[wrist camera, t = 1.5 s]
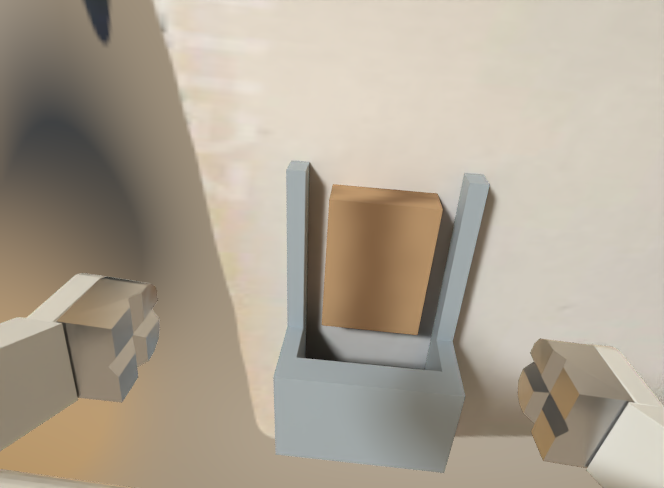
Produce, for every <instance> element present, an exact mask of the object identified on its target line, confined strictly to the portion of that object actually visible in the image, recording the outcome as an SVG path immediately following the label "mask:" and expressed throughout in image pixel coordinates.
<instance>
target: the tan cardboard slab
mask: <svg viewBox="0 0 664 488" xmlns="http://www.w3.org/2000/svg"><path fill="white" fill-rule="evenodd" d="M442 212H443V209H442V206H441V203H440V200H439V197H438V194H436V193H424V192H413V191H402V190H391V189H379V188H368V187H357V186H345V185H334V184H333V186H332V191H331V195H330V199H329V215H328V231H327V247H326V264H325V280H324V296H323V312H322V325H325V326H335V327H344V328H354V329H364V330H373V331H383V332H393V333H403V334H412V335H417V334H418V329H419V324H420V320H421V315H422V310H423V305H424V300H425V295H426V290H427V285H428V280H429V275H430V270H431V266H432V261H433V256H434V251H435V246H436V241H437V236H438V231H439V226H440V221H441V216H442Z"/></svg>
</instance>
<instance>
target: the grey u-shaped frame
mask: <svg viewBox="0 0 664 488" xmlns="http://www.w3.org/2000/svg"><path fill="white" fill-rule="evenodd" d="M286 179H287V311H288V327H287V330H286V334H285V338H284V341H283V345H282V348H281V352H280V356H279V359H278V363H277V366H276V370H275V374H274V410H275V443H276V454H277V455H286V456H295V457H304V458H313V459H322V460H332V461H340V462H349V463H358V464H367V465H376V466H386V467H395V468H404V469H413V470H422V471H431V472H440V473H444V472H445V468H446V465H447V461H448V457H449V454H450V450H451V446H452V443H453V439H454V436H455V432H456V429H457V425H458V421H459V418H460V414H461V411H462V407H463V403H464V400H465V392H464V388H463V384H462V380H461V375H460V371H459V367H458V362H457V358H456V354H455V350H454V345H453V338H454V334H455V330H456V325H457V321H458V317H459V313H460V308H461V304H462V300H463V296H464V292H465V287H466V283H467V279H468V275H469V270H470V266H471V262H472V258H473V253H474V249H475V245H476V241H477V237H478V232H479V228H480V224H481V220H482V215H483V211H484V207H485V203H486V199H487V194H488V190H489V186H490V184H489V183H488V181H487V180H486V178H485V176H484V175H482V174H468V173H464V178H463V183H462V188H461V193H460V197H459V202H458V207H457V212H456V217H455V222H454V227H453V232H452V237H451V242H450V247H449V252H448V256H447V261H446V266H445V271H444V276H443V281H442V286H441V291H440V296H439V301H438V306H437V311H436V315H435V320H434V325H433V330H432V335H431V340H430V345H429V350H428V355H427V360H426V365H425V370H421V369H410V368H400V367H390V366H379V365H369V364H359V363H348V362H338V361H328V360H318V359H307V358H306V311H307V259H308V208H309V162H299V161H291V162H290V164H289V166H288V168H287V170H286Z"/></svg>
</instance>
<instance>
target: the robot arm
mask: <svg viewBox="0 0 664 488" xmlns="http://www.w3.org/2000/svg"><path fill="white" fill-rule="evenodd" d="M157 301H158V298H157V290H156V287H155V286H154V285H153V284H151V283H144V282H138V281H132V280H126V279H120V278H114V277H104V276H100V275H93V274H86V273H81V274H76V275H75V276H74V277H73V278H72V279H70V280H69V281H68V282H67V283H66V284H65V285H64V286H62V287H61V288H60V289H59V290H58V291H57V292H55V293H54V294H53V295H52V296H51V297H50V298H49V299H47V300H46V301H45V302H44V303H43V304H42V305H41V306H39V307H38V308H37V309H36V310H35V311H34V312H33V313H31V314H30V315H29V316H28V317H27V318H21V317H17V318H14V319H11V320H9V321H6V322H3V323H0V451H1V450H3V449H4V448H6V447H8V446H9V445H11V444H12V443H14V442H15V441H17V440H18V439H20V438H21V437H23V436H24V435H26V434H27V433H29V432H30V431H32V430H33V429H35V428H36V427H38V426H39V425H41V424H42V423H44V422H45V421H47V420H49V419H50V418H52V417H53V416H55V415H56V414H57V413H59V412H60V411H62V410H64V409H65V408H67V407H68V406H70V405H71V404H73V403H74V402H76V401H77V400H78V398H87V399H96V400H104V401H113V402H122V401H123V400H124V399H125V397H126V395H127V394H128V392H129V391H130V389H131V388H132V386H133V385H134V383H135V381H136V380H137V378H138V371H137V367H139V366H141V365H142V364H144V363H146V362H148V361H149V359H150V357H151V356H152V354H153V352H154V350H155V347H156V344H157V341H158V338H159V330H160V329H159V328H160V324H159V317H158V316H157V315H156V314H155V312H154V311H153V310H152V308H153V307H154V305H155V304H156V303H157ZM530 354H531V356H532V358H533V361H534V362H533V363H531V364H530V365H528V366H527V367H525V368H523V370H522V373H521V375H520V378H519V381H518V399H519V404H520V406H521V409H522V412H523V414H524V415H525V416H527V417H528V418H529V419H530V420H531V421H532V422H533V423H534V426H533V428H532V430H531V433H532V436H533V438H534V440H535V443H536V445H537V447H538V450H539V452H540V454H541V457H542V459H543V461H548V462H553V463H559V464H565V465H571V466H577V467H583V468H587V469H586V471H587V472H588V473H589V474H590V475H591V476H592V477H593V478H594V479H595V480H596V481H597V482H598V483H599V484H600V485H601V486H602V487H603V488H664V406H663V405H662V403H661V402H660V401H659V400H658V398H657V397H656V396H655V395H654V393H653V392H652V391H651V390H650V388H649V387H648V386H647V385H646V383H645V382H644V381H643V379H642V378H641V377H640V376H639V374H638V373H637V372H636V371H635V369H634V368H633V367H632V366H631V364H630V363H629V362H628V361H627V359H626V358H625V357H624V356H623V354H622V353H621V352H620V351H619V350H617V349H616V348H614V347H611V346H602V345H593V344H587V345H586V344H579V343H571V342H564V341H556V340H548V339H541V338H540V339H539V340H538V341H537V342H536V343H535V344H534V346H533V348H532V350H531V352H530ZM0 488H133V487H127V486H120V485H112V484H105V483H98V482H91V481H83V480H76V479H69V478H62V477H54V476H47V475H39V474H32V473H25V472H18V471H11V470H3V469H0Z"/></svg>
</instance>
